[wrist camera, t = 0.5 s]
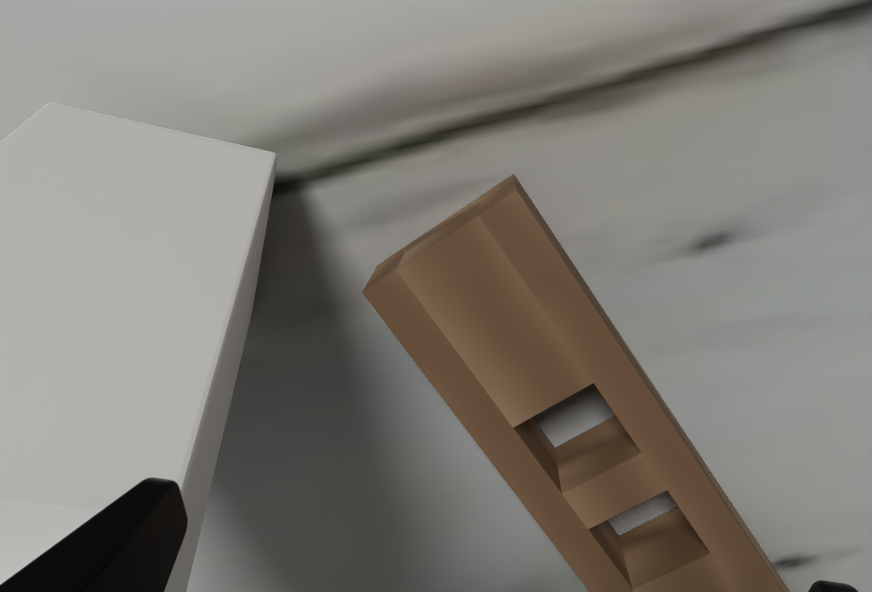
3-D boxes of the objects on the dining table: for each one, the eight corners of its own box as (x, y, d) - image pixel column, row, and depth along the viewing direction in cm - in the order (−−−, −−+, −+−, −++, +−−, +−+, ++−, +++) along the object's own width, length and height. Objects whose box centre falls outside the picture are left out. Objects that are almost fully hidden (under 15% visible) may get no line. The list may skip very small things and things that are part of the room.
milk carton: (279, 150, 23) (90, 842, 7) (251, 319, 26) (85, 1024, 11) (49, 97, 21) (-879, 841, 5) (53, 285, 25) (-492, 1056, 9)
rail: (669, 658, 30) (687, 720, 27) (377, 265, 25) (362, 292, 22) (797, 603, 29) (830, 664, 26) (513, 174, 24) (516, 190, 21)
